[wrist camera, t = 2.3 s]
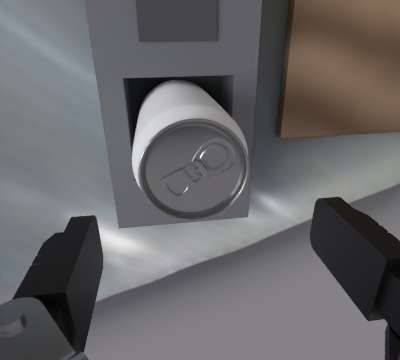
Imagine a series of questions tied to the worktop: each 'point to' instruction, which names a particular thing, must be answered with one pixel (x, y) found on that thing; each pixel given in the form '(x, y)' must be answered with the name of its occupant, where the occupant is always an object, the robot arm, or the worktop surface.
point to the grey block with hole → (170, 67)
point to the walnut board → (340, 68)
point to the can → (188, 153)
